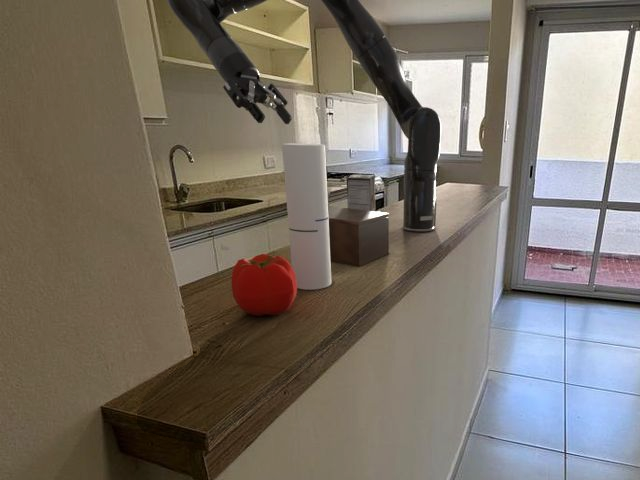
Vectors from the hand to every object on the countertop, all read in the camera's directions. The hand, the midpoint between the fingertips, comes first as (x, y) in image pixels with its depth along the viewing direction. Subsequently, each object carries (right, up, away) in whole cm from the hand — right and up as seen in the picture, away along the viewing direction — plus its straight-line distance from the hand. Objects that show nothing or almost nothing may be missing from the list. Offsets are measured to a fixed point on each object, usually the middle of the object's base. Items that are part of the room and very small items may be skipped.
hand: (276, 121), depth 101 cm
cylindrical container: (+12, -38, -16) cm, 43 cm away
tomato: (+8, -44, -29) cm, 53 cm away
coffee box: (+17, -23, +21) cm, 36 cm away
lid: (+15, -22, +1) cm, 27 cm away
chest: (+15, -30, +4) cm, 34 cm away
